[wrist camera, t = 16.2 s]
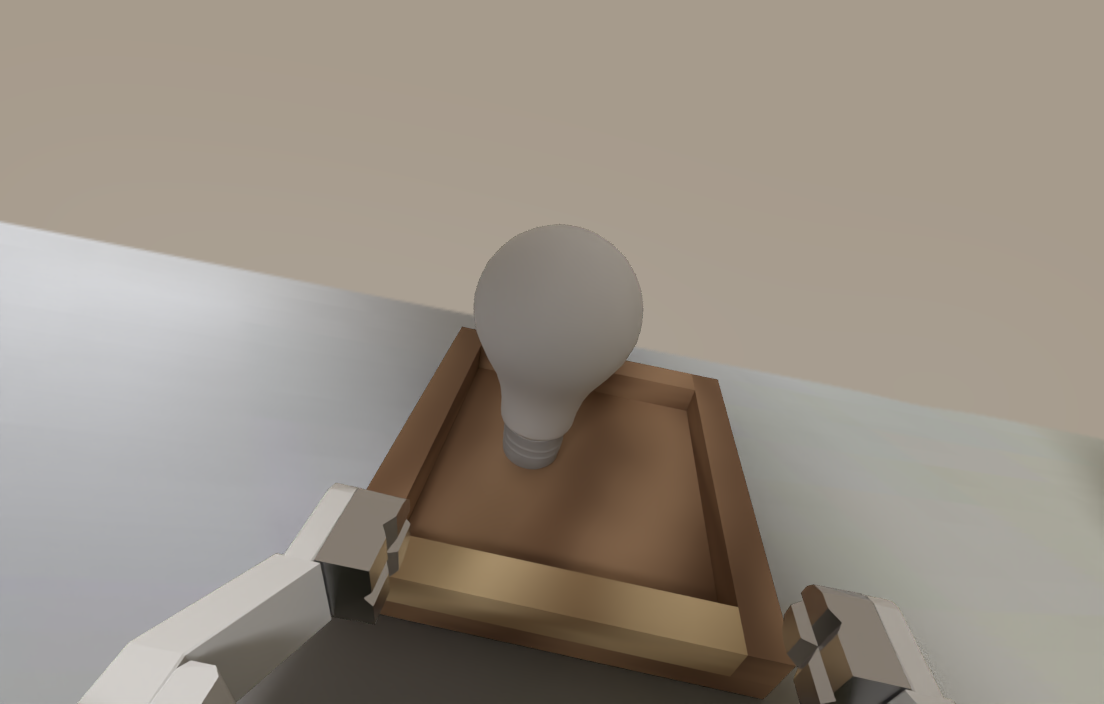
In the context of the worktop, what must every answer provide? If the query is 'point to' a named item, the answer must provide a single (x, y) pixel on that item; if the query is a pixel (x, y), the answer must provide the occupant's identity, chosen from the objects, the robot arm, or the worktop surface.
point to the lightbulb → (554, 330)
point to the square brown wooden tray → (588, 528)
